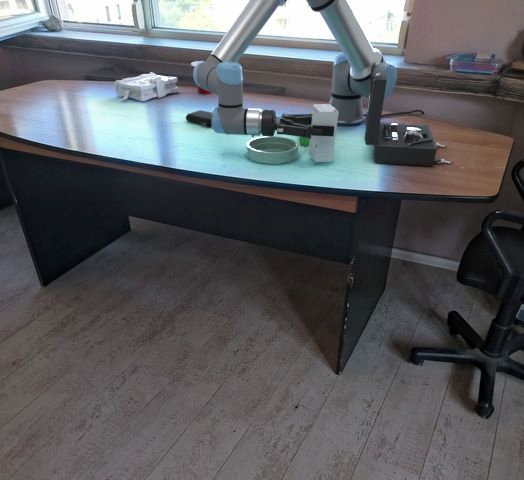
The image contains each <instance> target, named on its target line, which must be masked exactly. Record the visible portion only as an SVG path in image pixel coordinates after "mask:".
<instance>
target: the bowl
mask: <svg viewBox="0 0 524 480" xmlns="http://www.w3.org/2000/svg"><path fill="white" fill-rule="evenodd" d="M246 156H247V158H248V159H249V160H251V161H253V162H256V163H261V164H268V165H279V164H285V163H289V162H293V161H294V160H297V158H298V156H299V143H298V141H296V140H294V139H292V138H289V137H285V136H276V135H274V136H273V137H269V136H258V137H254V138H252V139H250V140H249V141H247V142H246Z"/></svg>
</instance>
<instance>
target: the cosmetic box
mask: <svg viewBox="0 0 524 480" xmlns="http://www.w3.org/2000/svg"><path fill="white" fill-rule="evenodd" d="M312 112H313V113H312ZM312 112H311V113H312V122H311V126H312V125H320V126H335V127H334V137H332V136H313V135H312V134H311V138H310V141H309V145H308V152H307V153H308V155H309V156H310V157H311V159H312V160H313V161H314V162H315V163H322V162H323V163H324V162H333V158H334V150H335V143H336V136H337V130H338V129H337V128H338V125H337V121H338V114H339V112H338V111H337V110H336V109H335V107H333V106H332V105H330V104H329V103H321V104H320V103H314V104H313V105H312Z"/></svg>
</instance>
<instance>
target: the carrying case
mask: <svg viewBox="0 0 524 480" xmlns="http://www.w3.org/2000/svg"><path fill="white" fill-rule="evenodd" d="M185 120H186V121H187V123H191V124H195V125H199V126H202V127H207V128H212V111H206V110H202V109H201V110H200V109H199V110H196V111H193V112H190V113H189V112H188V113H187V114H186V116H185Z"/></svg>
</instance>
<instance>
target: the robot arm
mask: <svg viewBox="0 0 524 480" xmlns="http://www.w3.org/2000/svg"><path fill="white" fill-rule="evenodd" d="M305 1H306V2H307V4H308V6H309V7H310V10H312V11H313V12H314V13H315V12H316V13H319V14H320V15H321V17H322V19H323V21H324V22H325V24H326V26H327V28H328V29H329V30H330V32H331V34H332V36H333V38H334V40H335V42H336V43H337V46H339V48H340V50H341V51H342V52H340V53H337V54H336V55H335V56H334V59H333V65H332V77H331V79H332V80H331V92H330V98H329V102H328V104H330V105H332V106H333V107H335V109H336V110H337V111H338V112H339V114H338V121H337V126H356V125H359V124H362V123H363V122H364V119H365V118H364V117H366V113H364V109H363V108H364V107H363V103H362V102H363V101H362V97H365V98H369V90H370V83H371V82H370V77H371V69H372V65H373V64H374V63H376V62H379V63H385V68H386V78H387V82H386V88H385V95H384V100H386V99H387V98H388V97H389V96H390V95H391V93H392V92H393V91H394V88H395V86H396V82H397V79H398V69H397V68H396V66H395V65H394V64H392V63H391V62H387V61H386V60H385V58H384V56H383V54H382V52H381V51H380V50H379V49H378V48H374V47H373V46H372V43H371V42H370V40H369V37H368V36H367V34H366V32H365V30H364V28H363V26H362V24H361V22H360V20H359V18H358V16H357V14H356V12H355V10H354V8H353V7H352V5H351V2H350V1H349V0H305ZM287 2H288V0H249V1H247V4H246V5H245V6H244V8H243V9H242V10H241V12H240V13H239V15H238V16H237V17H236V19H235V21H234V22H233V23H232V25H231V26H230V28H229V29H228V30H227V32H226V33H225V34H224V36H223V37H222V38H221V40H220V42H219V43H218V44H217V45H216V47H215V48H214V49H213V51H212V52H211V53H210V55H209V56H208V58H207V59H206V60H205V62H200V63H198V64H197V65H196V66H195V68H194V71H193V72H192V76H193V77H192V78H193V81H194V83H195V84H197V85H198V86H199V87H201V88H202V89H204V90H206V91H210V92H211V93H212V94H215V95H216V96H217V103H218V105H217V106H215V107H213V108H212V111H211V112H212V127H211V128H212V130H213V132H214V133H215V134H222V135H227V136H229V135H232V136H233V135H235V136H251V138H255V137H261V136H262V137H267V136H269V137H273V136H275V134H276V135H278V136H280V135H281V136H282V135H283V136H294V137H299V138H300V137H306V138H309V139H310V138H311V134H312V135H313V136H332V137H334V127H335V126H320V125H312V126H307V125H311V122H312V114H310V113H282V114H281V116H277V113H276V110H275V109H266V108H265V109H263V110H262V109H261V108H246V107H245V108H244V90H243V89H244V86H243V85H244V77H243V67H242V65H241V64H240V63H239V60H240V59H241V58H242V56H243V55H244V54H245V52H246V51H247V50H248V48H249V47H250V45H251V44H252V43H253V41H254V40H255V39H256V38H257V36H258V34H259V33H260V32H261V31H262V29H263V28H264V26H265V25H266V24H267V22H268V21H269V20H270V18H272V16H273V14H274V13H275V11H276V10H277V9H278V7H283V6H284V5H285V4H286V3H287ZM197 85H196V86H197ZM418 112H419V113H421V114H422V115H425V112H424V111H423V110H422V109H413V110H410V111H400V112H390V113H382V115H381V118H382V117H388V116H398V115H408V114H409V115H410V114H413V113H418Z"/></svg>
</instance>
